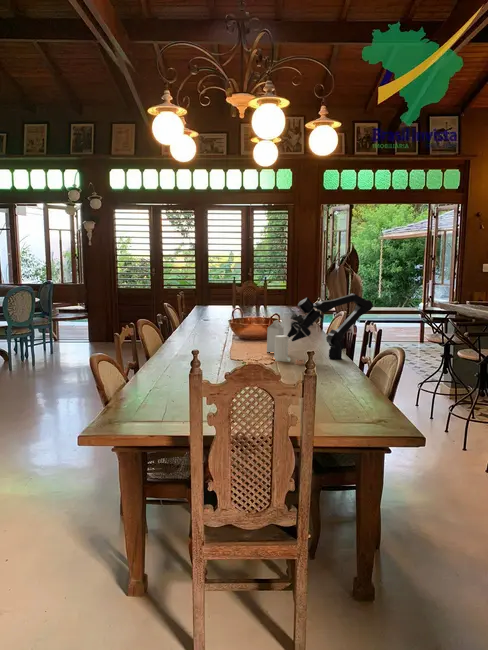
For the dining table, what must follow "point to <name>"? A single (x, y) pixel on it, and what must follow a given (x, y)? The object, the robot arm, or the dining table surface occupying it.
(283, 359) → the white cylinder
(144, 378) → the dining table surface
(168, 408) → the dining table surface
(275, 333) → the milk carton
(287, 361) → the mat
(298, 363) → the bowl
